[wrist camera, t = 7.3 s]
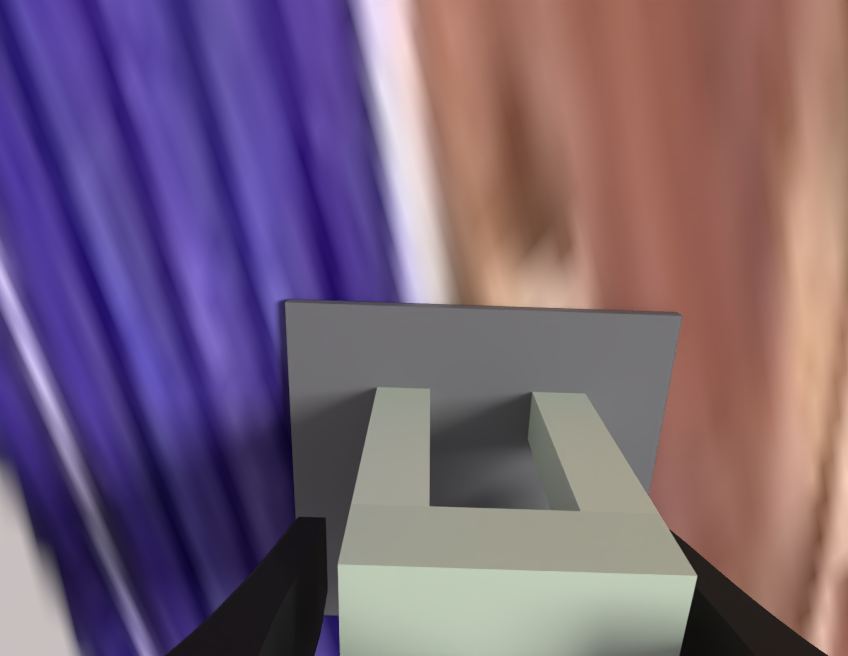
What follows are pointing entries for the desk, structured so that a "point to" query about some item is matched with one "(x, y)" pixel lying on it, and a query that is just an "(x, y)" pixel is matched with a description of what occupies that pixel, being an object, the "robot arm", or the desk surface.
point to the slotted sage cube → (508, 549)
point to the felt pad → (464, 394)
